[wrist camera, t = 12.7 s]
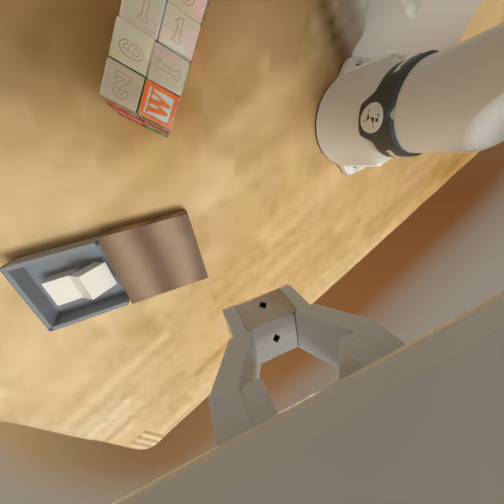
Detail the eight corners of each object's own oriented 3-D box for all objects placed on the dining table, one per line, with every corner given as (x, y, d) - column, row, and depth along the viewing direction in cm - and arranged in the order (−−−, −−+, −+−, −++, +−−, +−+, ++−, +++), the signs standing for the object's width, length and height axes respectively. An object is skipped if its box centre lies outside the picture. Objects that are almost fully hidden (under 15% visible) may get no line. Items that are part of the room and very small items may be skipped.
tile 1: (41, 284, 31) (49, 275, 33) (57, 305, 33) (64, 296, 35) (72, 274, 32) (78, 267, 34) (87, 296, 34) (91, 287, 36)
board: (185, 210, 37) (187, 213, 34) (205, 270, 42) (208, 277, 40) (101, 232, 34) (96, 238, 31) (134, 294, 39) (132, 303, 36)
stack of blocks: (169, -80, 25) (173, -257, 14) (220, -33, 28) (255, -151, 17) (120, 116, 30) (96, 93, 19) (168, 139, 32) (170, 130, 22)
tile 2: (95, 261, 34) (105, 262, 33) (107, 282, 36) (117, 283, 35) (68, 275, 31) (78, 277, 30) (83, 297, 33) (93, 299, 32)
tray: (100, 235, 34) (94, 242, 31) (131, 293, 39) (128, 304, 36) (14, 258, 31) (-2, 269, 28) (59, 317, 36) (49, 331, 33)
